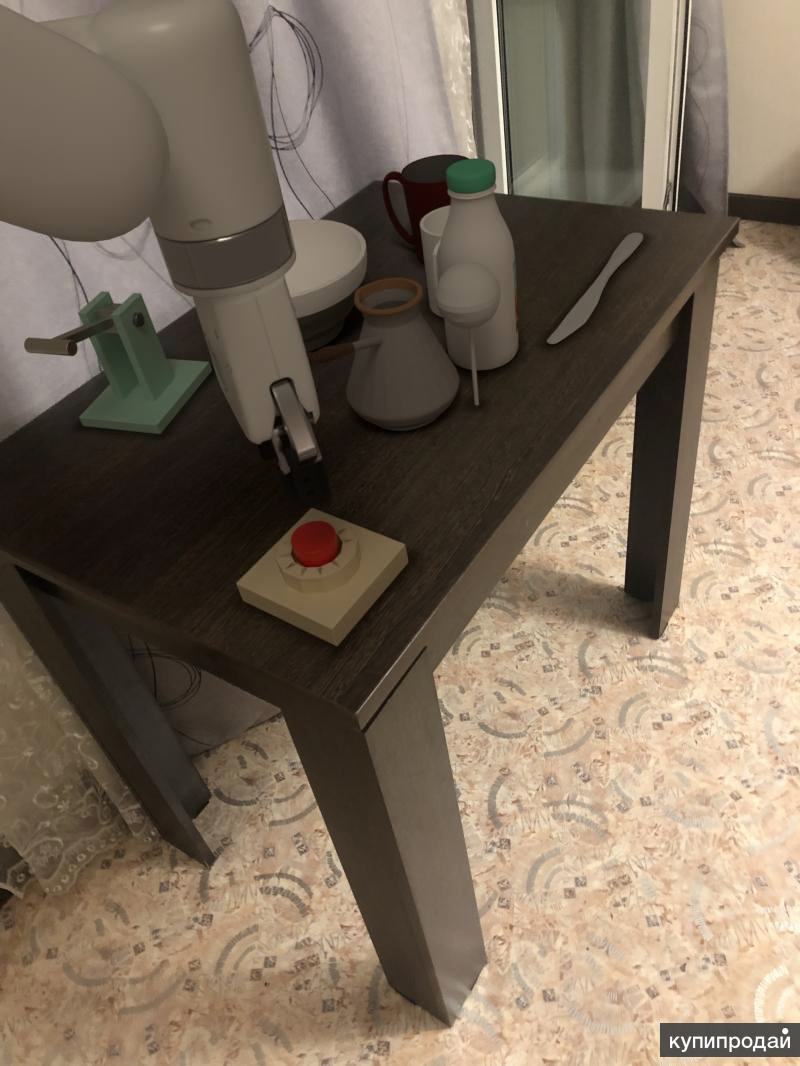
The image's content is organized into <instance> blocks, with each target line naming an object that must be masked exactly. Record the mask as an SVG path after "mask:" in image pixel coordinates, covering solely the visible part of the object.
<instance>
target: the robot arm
mask: <svg viewBox="0 0 800 1066" xmlns="http://www.w3.org/2000/svg"><path fill="white" fill-rule="evenodd" d="M251 58H252V57H251V54H250V50H249V45H248V40H247V37H246V33H245V29H244V25H243V21H242V18H241V15H240V13H239V11H238V9H237V7H236V6H235V4H234V2H233V1H232V0H116V1H114V2H112V3H110V4H108V5H106V6H105V7H104V8H103V9H101V10H100V11H98V12H93V13H88V14H83V15H78V16H70V17H65V18H58V19H50V20H42V21H35V20H33V19H31V18H29V17H27V16H25V15H23V14H21V13H19V12H18V11H15V10H13V9H12V8H9V7H8V6H5V5H3V4H1V3H0V222H3V223H4V224H5V223H6V224H8V225H11V226H15V227H18V228H21V229H24V230H27V231H29V232H34V233H37V234H40V235H43V236H47V237H51V238H54V239H58V240H63V241H69V242H75V243H76V242H78V243H96V242H104V241H109V240H113V239H116V238H119V237H121V236H124V235H126V234H128V233H130V232H131V231H133V230H135V229H137V228H138V227H139V226H141V225H142V224H143V223H144V222H145V221H146V220H147V219H149V221H150V223H151V226H152V229H153V232H154V236H155V238H156V241H157V244H158V248H159V250H160V253H161V256H162V258H163V261H164V264H165V267H166V269H167V272H168V273H167V274H168V275H169V278H170V281H171V285H172V286H173V287H174V289H175V290H176V291H177V292H179V293H180V294H182V295H185V296H188V297H191V298H192V301H193V304H194V308H195V311H196V314H197V316H198V320H199V323H200V326H201V329H202V333H203V336H204V339H205V342H206V346H207V349H208V351H209V355H210V358H211V362H212V365H213V369H214V372H215V375H216V378H217V382H218V385H219V386H220V389H221V392H222V393H223V395H224V397H225V399H226V401H227V403H228V405H229V407H230V409H231V411H232V413H233V415H234V417H235V418H236V420H237V422H238V424H239V427H240V428H241V430H242V431H243V433H244V435H245V437H246V438H247V440H249V442H251V443H253V444H256V447H257V449H258V453H259V455H260V457H261V459H262V461H264V462H269V461H272V460H274V459H276V460H277V464H278V465H277V466H275V467H274V468H275V472H276V474H277V477H278V482H279V484H280V488H281V491H282V494H283V497H284V501H285V504H286V507H287V509H288V510H289V512H290V513H291V514H297V513H300V512H302V511H305V510H307V509H311V508H313V507H315V506H318V505H320V504H322V503H325V502H328V501H330V500H331V499H332V497H333V492H332V489H331V485H330V481H329V476H328V473H327V468H326V466H325V462H324V458H323V454H322V452H321V450H320V448H319V445H318V441H317V439H316V436H315V433H314V430H313V427H312V424H313V425H315V424H316V423H317V422H318V420H319V418H320V415H321V410H320V404H319V399H318V395H317V390H316V385H315V381H314V376H313V373H312V369H311V367H310V365H309V361H308V357H307V353H306V349H305V346H304V342H303V338H302V335H301V331H300V328H299V324H298V320H297V317H296V313H295V307H294V306H293V303H292V300H291V296H290V293H289V290H288V286H287V283H286V279H285V276H284V274H286V273H287V272H288V271H289V270H290V269H291V267H292V266H293V264H294V263H295V260H296V251H295V246H294V243H293V238H292V234H291V230H290V225H289V221H290V220H289V218H288V213H287V209H286V205H285V204H286V203H285V200H284V197H283V196H284V195H283V191H282V188H281V184H280V179H279V175H278V170H277V166H276V162H275V158H274V153H273V149H272V145H271V140H270V136H269V131H268V128H267V123H266V119H265V115H264V110H263V106H262V102H261V97H260V96H261V95H260V93H259V88H258V84H257V80H256V75H255V70H254V66H253V62H252V59H251ZM311 423H312V424H311Z"/></svg>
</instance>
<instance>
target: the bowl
mask: <svg viewBox="0 0 800 1066" xmlns="http://www.w3.org/2000/svg"><path fill="white" fill-rule="evenodd" d="M288 221H289V225H290V230H291V234H292V238H293V243H294V246H295V251H296V260H295V263H294V264H293V266H292V267H291V269H290V270H289V271H288V272H287V273H286V274H284V276H285V279H286V283H287V286H288V290H289V293H290V296H291V300H292V303H293V306H294V307H295V313H296V317H297V320H298V324H299V328H300V331H301V335H302V338H303V342H304V346H305V349H306V352H312V351H315V350H319V349H321V348H323V347H325V346H326V345H328V344H329V343H331V342H332V341H334V340H335V338H337V337H338V336H339V335H340V333H341V331H342V330H343V328H344V324H345V322H346V318H347V317H348V316H349V314H350V313H351V311H352V309H353V307H354V306H355V303H354V297H355V292H356V290H357V289H358V288H360V287H362V286H363V285H362V284H363V281H364V279H365V276H366V273H367V269H368V268H367V267H368V253H367V243H366V239H365V238H364V236H363V235H362V233H361V232H360V231H358V230H357V229H356V228H355V227H352V226H350V225H348V224H346V223H343V222H338V221H335V220H330V219H329V220H328V219H319V218H315V219H314V218H313V219H311V218H310V219H309V218H307V219H306V218H303V219H290V220H288Z"/></svg>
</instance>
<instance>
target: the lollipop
mask: <svg viewBox="0 0 800 1066" xmlns="http://www.w3.org/2000/svg"><path fill="white" fill-rule="evenodd" d="M500 295H501V291H500V285H499V283H498V281H497V279H496V277H495V276H494V274H493V273H492V272H491V271H490V270H489V269H488V268H487V267H485V266H483V265H481V264H479V263H475V262H462V263H459V264H456V265H454V266H452V267H451V268H449V269H448V270H447V271H446V272H445V273H444V274H443V276H442V277H441V278H440V281H439V283H438V285H437V288H436V293H435V301H436V304H437V307H438V310H439V312H440V314H441V315H442V316H443V317H442V318H443V320H444V319H445V320H446V321H447V322H449V323H450V324H451V325H453V326H455V327H458V328H462V329H468V333H469V345H470V356H471V368H472V370H471V379H472V390H473V402H474V405H475V406H479V405H480V397H479V385H478V373H477V370H476V359H475V347H474V334H473V328H477V327H479V326H482V325H483V324H485V323H486V322H488V321H489V320H490V319H491V318H492V317H493V315H494V314H495V312H496V310H497V308H498V305H499V302H500Z"/></svg>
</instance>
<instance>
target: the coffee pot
mask: <svg viewBox="0 0 800 1066" xmlns="http://www.w3.org/2000/svg"><path fill="white" fill-rule="evenodd" d="M423 289H424V288H423V287H422V285H421V284H420V283H419V282H418V281H415V280H414V279H411V278H407V277H388V278H381V279H378V280H374V281H371V282H369V283H367V284H365V285H361V287H360V288H358V289H357V290H356V292H355V297H354V306H355V307H356V309H357V310H358V311H359V312H361V314H362V316H363V318H364V320H363V323H362V327H361V329H360V335H359V339H358V340H355V341H353V342H346V343H339V344H335V345H328V346H322V347H320V348H319V349H317V350H316V351H313V352H312V351H310V352H306V353H307V357H308V361H309V365H310V368H312V367H314V366H315V364H318V363H329V362H332V361H335V360H337V359H340V358H342V357H345V356H347V355H350V354H352V353H355V354H354V357H353V362H352V365H351V368H350V373H349V376H348V381H347V383H346V388H345V394H346V400H347V402H348V404H349V405H350V406H351V409H353V411H354V412H355V413H356V414H357V415H358V416H359V417H360V418H362V419H363V420H364V421H365V422H368V423H370V424H372V425H375V426H377V427H378V428H381V429H384V430H387V431H396V432H401V431H405V432H406V431H411V430H416V429H419V428H422V427H424V426H427V425H429V424H430V423H433V422H434V421H435V420H436V419H437V418H438V417H439V416H440V415H441V414H442V413H444V412H445V411H446V410H447V409H448V408H449V407H450V406H451V405H452V403H453V401H454V400H455V398H456V395H457V393H458V391H459V386H460V375H459V373H458V370H457V367H456V365H455V363H454V362H453V361H452V360H451V358H450V357H449V354H448V352H446V350H445V349H444V346H443V345H442V344H441V342H440V341H439V339H438V338H437V336H436V334H435V332H434V331H433V330H432V328H431V327H430V325H429V323H428V322H427V320H426V319H425V318H424V316H423V314H422V313H421V311H420V310H419V305H420V302H421V300H422V299H423V296H424V290H423Z"/></svg>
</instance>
